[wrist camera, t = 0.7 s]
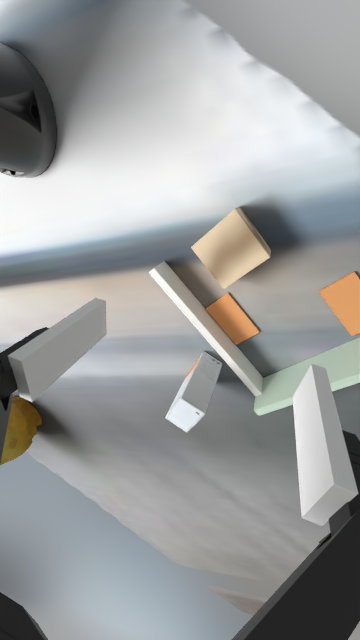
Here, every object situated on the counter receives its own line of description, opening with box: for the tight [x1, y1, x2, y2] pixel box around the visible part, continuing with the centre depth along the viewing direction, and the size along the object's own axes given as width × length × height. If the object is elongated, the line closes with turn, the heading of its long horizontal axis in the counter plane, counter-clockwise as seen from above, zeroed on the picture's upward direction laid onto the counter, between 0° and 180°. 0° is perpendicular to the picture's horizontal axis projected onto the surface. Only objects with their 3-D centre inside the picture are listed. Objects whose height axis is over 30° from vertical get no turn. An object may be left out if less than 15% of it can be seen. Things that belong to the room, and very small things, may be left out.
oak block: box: [191, 207, 271, 289], centre depth 33 cm, size 7×7×4 cm
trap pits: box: [206, 272, 360, 345], centre depth 36 cm, size 15×19×1 cm
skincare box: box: [166, 351, 223, 432], centre depth 41 cm, size 6×4×12 cm
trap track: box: [149, 261, 360, 416], centre depth 33 cm, size 27×21×7 cm
